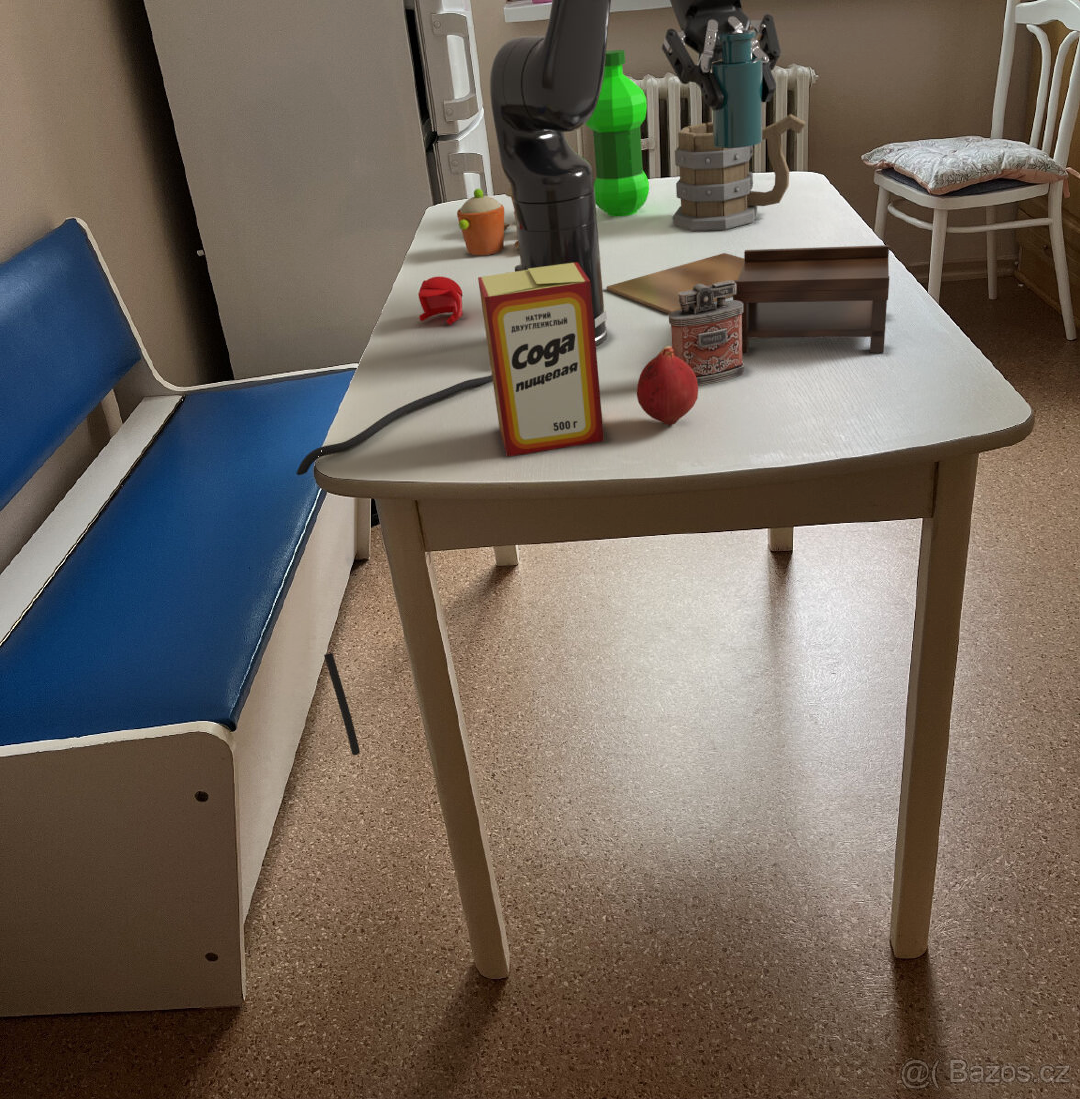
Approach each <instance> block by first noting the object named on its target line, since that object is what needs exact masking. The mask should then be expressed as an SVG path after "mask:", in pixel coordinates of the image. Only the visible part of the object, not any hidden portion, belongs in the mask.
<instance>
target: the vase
mask: <svg viewBox="0 0 1080 1099" xmlns="http://www.w3.org/2000/svg"><path fill="white" fill-rule="evenodd" d="M752 38H755V31H754V30H742V31H732V32H726V33H721V34H719V35H718V40H719V41H722V59H721V60H719V61H716V62H712V66H711V73H713V72H714V74H715V76H716V79H717V81H718V84H719V87H720V89H721V92H722V94H723V103H722V105H721V108H720V110H715V111H713V110H712V122H713V145H714V146H715V147H719V148H741V147H748V146H753V147H754V146H757V145H759V144H761V143H762V142H763V140H762V128H763V102H762V72H763V60H762V58H752Z"/></svg>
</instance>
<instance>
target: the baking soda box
mask: <svg viewBox="0 0 1080 1099" xmlns="http://www.w3.org/2000/svg"><path fill="white" fill-rule="evenodd" d="M477 281H478V289H479V295H480V302H481V308H482V316H483V323H484V329H485V336H486V344H487V350H488V351H487V352H488V356H489V357H488V358H489V365H490V371H491V375H492V379H493V381H492V385H493V392H494V399H495V407H496V413H497V420H498V428H499V432H500V436H501V439H502V444H503V447H504V450H505V454H506V458H507V457H508V458H509V457H513V456H514V457H515V456H520V455H525V454H527V455H528V454H532V453H533V454H534V453H538V452H545V451H551V450H558V449H562V448H569V447H575V446H581V445H588V444H592V443H593V444H594V443H598V442H600V443H601V442H605V437H604V436H605V435H604V434H605V433H604V424H603V414H602V400H601V390H600V389H601V388H600V378H599V367H598V354H597V346H596V342H595V331H594V319H593V307H592V296H591V284H590V280H589V279H588V277H587V276H586V274H585V273H584V271H583V270H582V268H581V267H580V265H579V264H578V262H576V263H568V264H560V265H552V266H545V267H537V268H529V269H528V270H523V271H517V272H515V271H510V272H505V273H497V274H491V275H490V274H489V275H485V276H479V277H477Z"/></svg>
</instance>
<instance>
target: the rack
mask: <svg viewBox="0 0 1080 1099" xmlns="http://www.w3.org/2000/svg"><path fill="white" fill-rule="evenodd" d="M889 255H890V245H889V244H884V245H883V244H881V245H880V244H879V245H854V246H852V245H851V246H824V247H823V246H822V247H793V248H792V247H791V248H769V249H768V248H765V249H764V248H761V249H744V252H743V258H744V261H745V262H744V265H743V267H742V270H741V273H740V275H739V278H738V280H733V281H734V283H736V294H734V295H733V296H732V300H737V301H741V302H743V312H742V354H748V352H749V349H750V347H749V344H750V343H749V339H784V338H785V339H786V338H787V339H789V338H791V339H792V338H793V339H794V338H796V339H797V338H798V339H799V338H800V339H801V338H805V339H806V338H870V344H869V353H870V354H873V353H874V354H883V353H885V340H886V338H885V337H886V324H887V322H886V321H887V308H888V307H887V306H888V300H889V292H890V274H889V273H890V270H889V269H890V268H889V267H890V266H889V263H890V262H889V260H890V258H889V257H890V256H889Z"/></svg>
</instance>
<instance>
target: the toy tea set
mask: <svg viewBox="0 0 1080 1099" xmlns="http://www.w3.org/2000/svg"><path fill="white" fill-rule="evenodd" d="M505 196H506V197H510V198H511V202H512V206H513V207H514V202H513V195H512V188H511V186H510V187H509V188H508V189H507V190H506V191H505ZM513 214H514V215H515V211H513ZM456 216H457V220H458V227H459V228H460V230H461V233H462V237H463V241H464V244H465V248H466V250H467V253H468V254H469V255H472V256H488V255H489V256H490V255H493V254H498V253H499V252H501V251H502V250H503V249H504V245H505V244H504V243H505V242H504V241H505V231H506V230H507V229H508V228H509V227H510V226H511V225H510V223H506V222H505V207H504V205H503V204H502V203H500V202H499V201H498V200H497V199H495V198H493V197H492V196H489V195H484V191H483V190H482V189H481V188H476V189H474V191H473V196H472V197H470V198H468V199H467V200H466V201H465V202H464V203H463V204H462V206H461V207H460V208H459V209H458V210H457V211H456ZM514 248H515V249H516V250H519V244H518V240H517V241H515V243H514Z"/></svg>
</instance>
